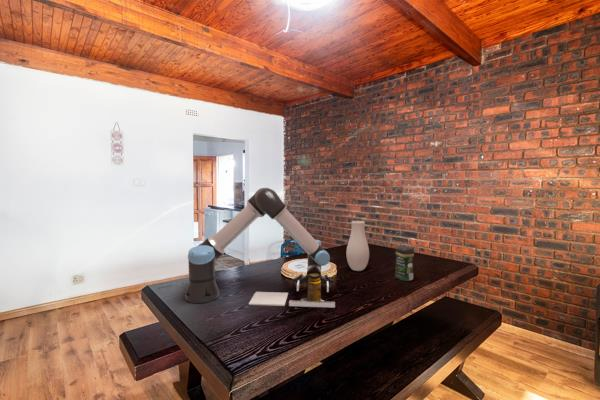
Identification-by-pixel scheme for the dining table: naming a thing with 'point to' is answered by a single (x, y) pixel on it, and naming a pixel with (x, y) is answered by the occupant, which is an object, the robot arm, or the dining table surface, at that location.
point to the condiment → (314, 288)
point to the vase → (357, 247)
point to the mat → (269, 298)
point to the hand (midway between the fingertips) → (312, 288)
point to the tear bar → (311, 303)
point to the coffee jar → (404, 263)
